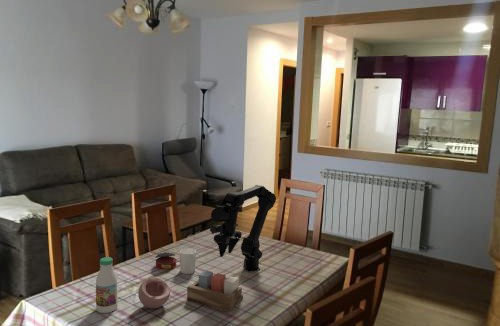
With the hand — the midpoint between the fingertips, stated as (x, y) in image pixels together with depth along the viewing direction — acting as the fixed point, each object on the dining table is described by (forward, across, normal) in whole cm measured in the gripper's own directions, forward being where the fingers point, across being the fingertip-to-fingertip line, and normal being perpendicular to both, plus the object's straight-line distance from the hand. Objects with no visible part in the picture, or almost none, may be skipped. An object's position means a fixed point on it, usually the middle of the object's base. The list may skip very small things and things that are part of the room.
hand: (225, 254), depth 181 cm
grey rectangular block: (+13, +14, -1) cm, 19 cm away
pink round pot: (+18, +32, -14) cm, 39 cm away
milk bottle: (+20, +40, -29) cm, 54 cm away
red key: (+12, +14, +5) cm, 20 cm away
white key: (+12, +15, +11) cm, 22 cm away
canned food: (+14, -4, -32) cm, 35 cm away
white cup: (+13, -3, -19) cm, 24 cm away
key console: (+15, +16, +5) cm, 22 cm away
